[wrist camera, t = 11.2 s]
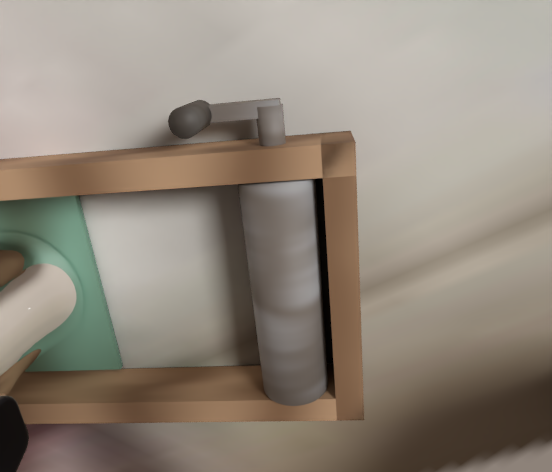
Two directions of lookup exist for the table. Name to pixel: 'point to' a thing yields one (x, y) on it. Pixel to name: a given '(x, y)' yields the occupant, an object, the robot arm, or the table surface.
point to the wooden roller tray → (261, 263)
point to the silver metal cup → (33, 303)
